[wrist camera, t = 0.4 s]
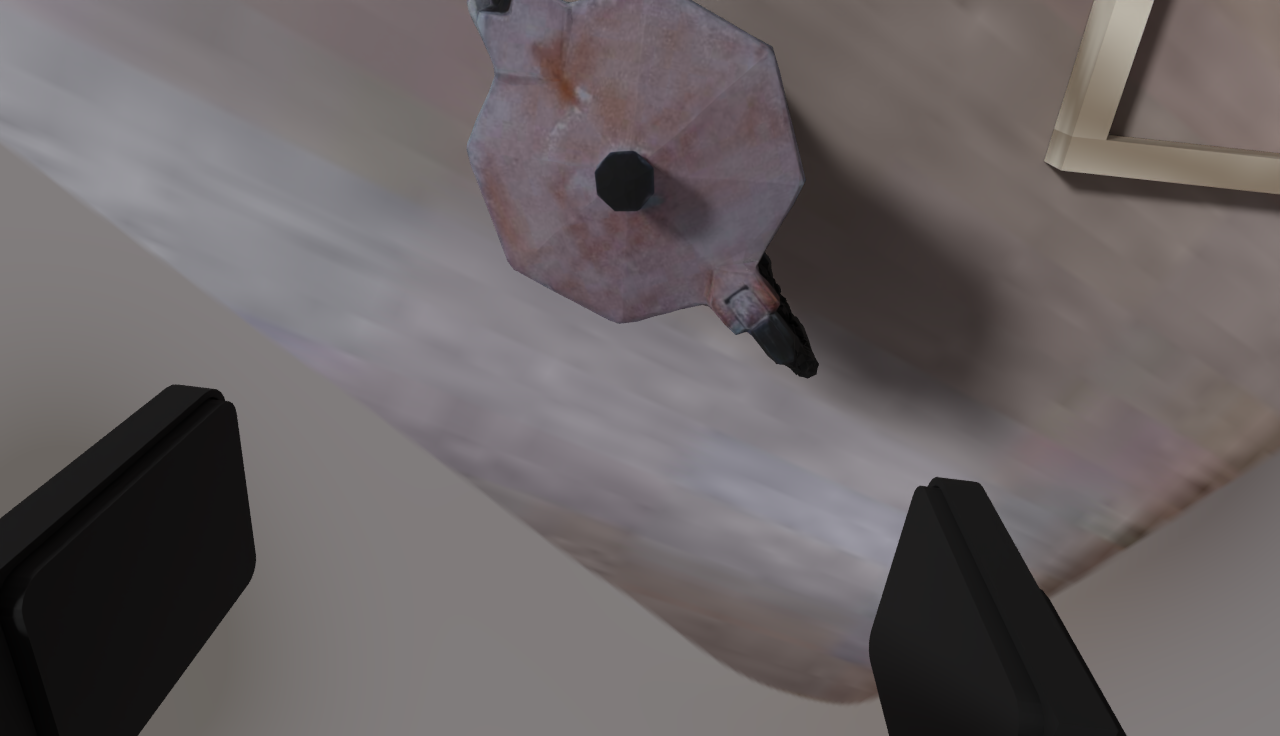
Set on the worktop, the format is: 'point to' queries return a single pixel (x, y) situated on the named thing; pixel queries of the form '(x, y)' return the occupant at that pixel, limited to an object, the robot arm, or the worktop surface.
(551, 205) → the moka pot
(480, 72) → the worktop surface
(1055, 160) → the bay frame
